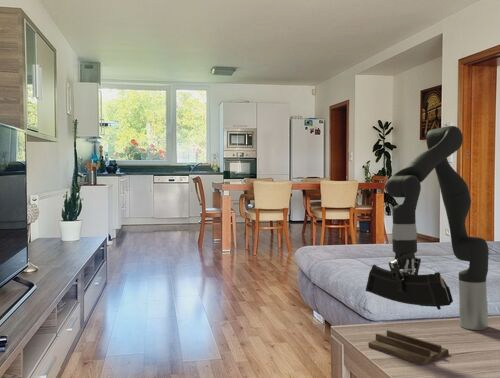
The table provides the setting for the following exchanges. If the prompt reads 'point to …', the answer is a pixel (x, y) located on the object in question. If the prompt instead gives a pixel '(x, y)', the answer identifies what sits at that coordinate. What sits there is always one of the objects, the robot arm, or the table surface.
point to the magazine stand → (408, 347)
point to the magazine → (410, 288)
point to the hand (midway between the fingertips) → (405, 290)
